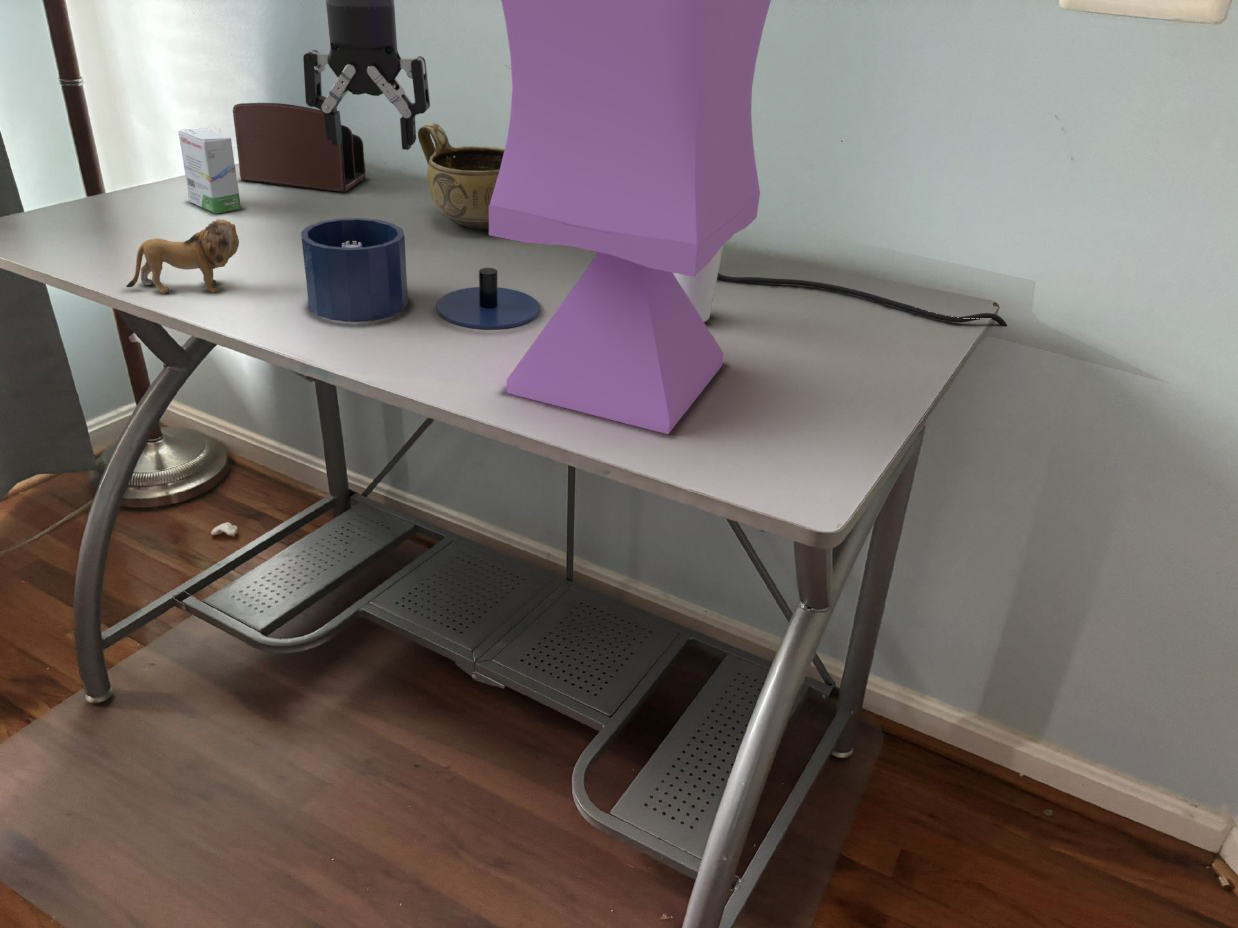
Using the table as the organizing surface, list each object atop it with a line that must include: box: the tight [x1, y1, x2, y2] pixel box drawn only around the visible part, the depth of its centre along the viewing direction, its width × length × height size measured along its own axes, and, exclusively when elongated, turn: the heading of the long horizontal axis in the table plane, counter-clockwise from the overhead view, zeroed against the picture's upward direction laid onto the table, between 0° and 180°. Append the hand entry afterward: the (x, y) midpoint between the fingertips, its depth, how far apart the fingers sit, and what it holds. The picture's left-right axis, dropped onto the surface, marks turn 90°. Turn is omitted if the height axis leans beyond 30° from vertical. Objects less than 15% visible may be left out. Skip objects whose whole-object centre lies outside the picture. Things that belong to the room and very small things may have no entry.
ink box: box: [177, 127, 242, 215], centre depth 157 cm, size 8×5×12 cm, turn 48°
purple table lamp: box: [488, 0, 772, 435], centre depth 102 cm, size 22×22×45 cm
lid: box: [436, 267, 540, 330], centre depth 127 cm, size 14×14×6 cm
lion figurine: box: [125, 218, 240, 294], centre depth 127 cm, size 15×5×9 cm, turn 110°
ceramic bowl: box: [417, 122, 505, 230], centre depth 157 cm, size 22×17×15 cm
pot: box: [300, 217, 409, 323], centre depth 125 cm, size 13×13×10 cm
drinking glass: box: [672, 244, 725, 323], centre depth 128 cm, size 7×7×15 cm
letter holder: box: [232, 102, 367, 194], centre depth 172 cm, size 10×20×14 cm, turn 81°
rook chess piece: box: [342, 241, 362, 248], centre depth 125 cm, size 4×4×8 cm
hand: (371, 146), depth 117 cm, fingers open, 8 cm apart
